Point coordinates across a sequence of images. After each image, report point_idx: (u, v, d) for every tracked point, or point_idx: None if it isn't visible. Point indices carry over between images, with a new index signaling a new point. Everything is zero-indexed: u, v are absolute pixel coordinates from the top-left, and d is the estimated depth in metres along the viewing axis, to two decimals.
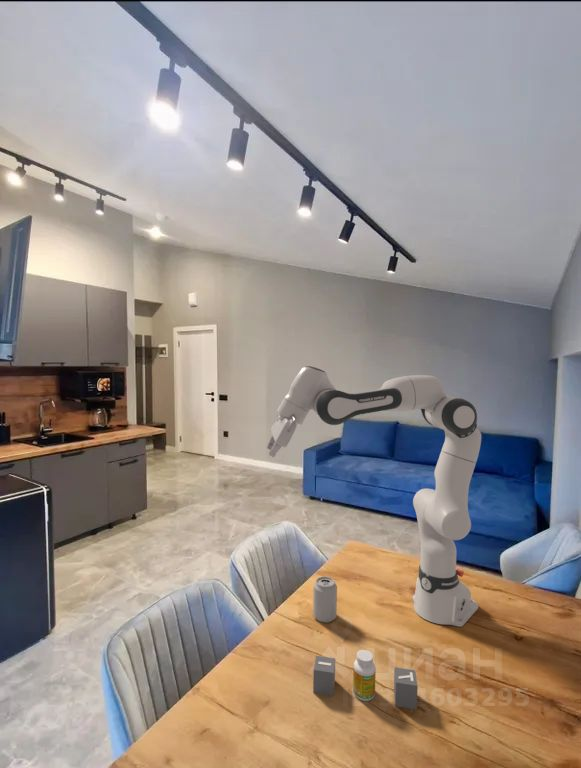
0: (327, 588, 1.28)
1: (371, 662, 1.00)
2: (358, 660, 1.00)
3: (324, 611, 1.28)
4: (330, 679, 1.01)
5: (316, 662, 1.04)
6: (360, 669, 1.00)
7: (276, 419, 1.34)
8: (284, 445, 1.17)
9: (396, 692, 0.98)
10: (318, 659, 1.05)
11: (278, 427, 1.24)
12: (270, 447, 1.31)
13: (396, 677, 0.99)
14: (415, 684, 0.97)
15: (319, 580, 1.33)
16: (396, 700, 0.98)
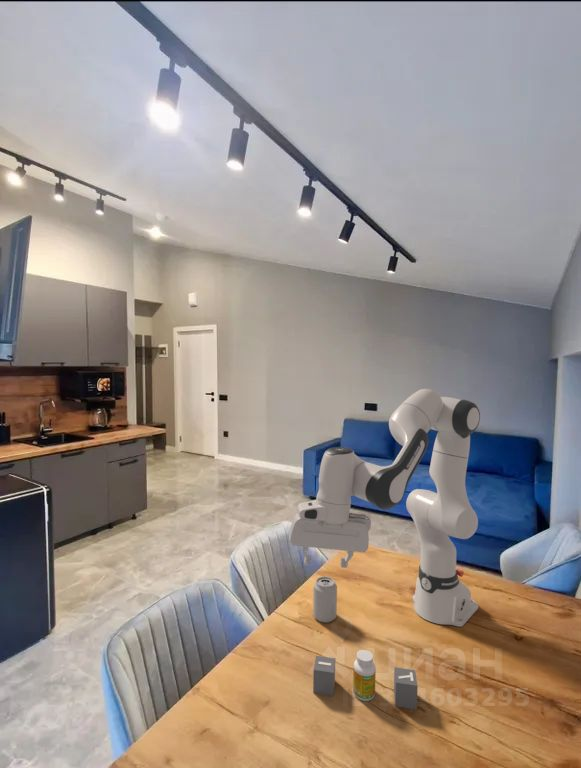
0: (327, 588, 1.28)
1: (371, 662, 1.00)
2: (358, 660, 1.00)
3: (324, 611, 1.28)
4: (330, 679, 1.01)
5: (316, 662, 1.04)
6: (360, 669, 1.00)
7: (299, 528, 1.02)
8: None
9: (396, 692, 0.98)
10: (318, 659, 1.05)
11: (339, 536, 1.03)
12: None
13: (396, 677, 0.99)
14: (415, 684, 0.97)
15: (319, 580, 1.33)
16: (396, 700, 0.98)
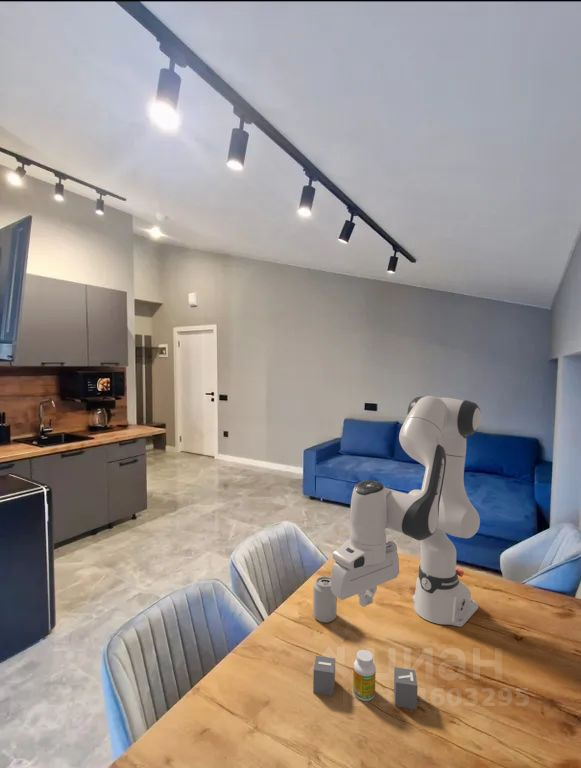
0: (327, 588, 1.28)
1: (371, 662, 1.00)
2: (358, 660, 1.00)
3: (324, 611, 1.28)
4: (330, 679, 1.01)
5: (316, 662, 1.04)
6: (360, 669, 1.00)
7: (348, 580, 0.94)
8: None
9: (396, 692, 0.98)
10: (318, 659, 1.05)
11: (378, 572, 1.00)
12: None
13: (396, 677, 0.99)
14: (415, 684, 0.97)
15: (319, 580, 1.33)
16: (396, 700, 0.98)
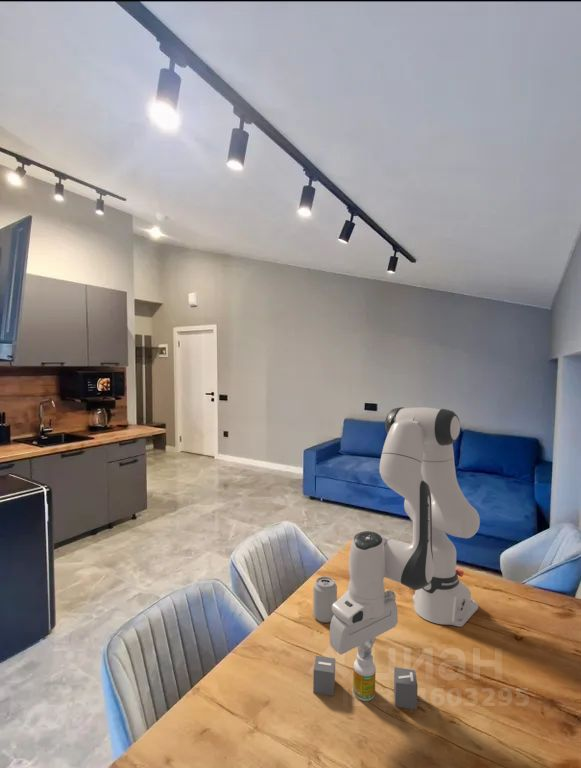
0: (327, 588, 1.28)
1: (371, 662, 1.00)
2: (358, 660, 1.00)
3: (324, 611, 1.28)
4: (330, 679, 1.01)
5: (316, 662, 1.04)
6: (360, 669, 1.00)
7: (346, 635, 0.95)
8: None
9: (396, 692, 0.98)
10: (318, 659, 1.05)
11: (377, 623, 1.01)
12: None
13: (396, 677, 0.99)
14: (415, 684, 0.97)
15: (319, 580, 1.33)
16: (396, 700, 0.98)
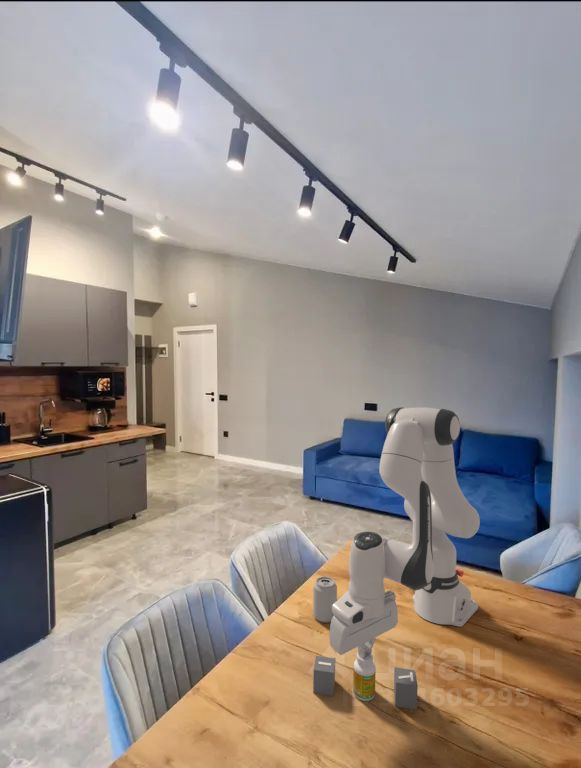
0: (327, 588, 1.28)
1: (371, 662, 1.00)
2: (358, 660, 1.00)
3: (324, 611, 1.28)
4: (330, 679, 1.01)
5: (316, 662, 1.04)
6: (360, 669, 0.99)
7: (346, 635, 0.95)
8: None
9: (396, 692, 0.98)
10: (318, 659, 1.05)
11: (377, 623, 1.01)
12: None
13: (396, 677, 0.99)
14: (415, 684, 0.97)
15: (319, 580, 1.33)
16: (396, 700, 0.98)
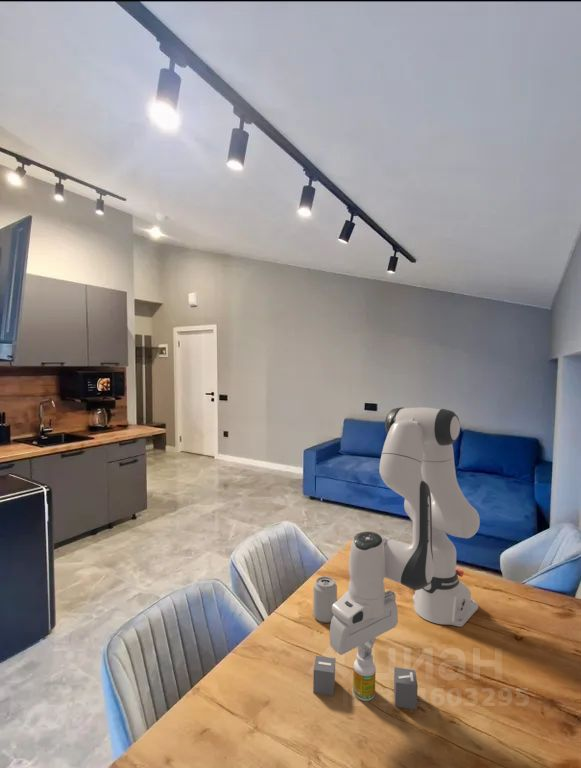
0: (327, 588, 1.28)
1: (371, 662, 1.00)
2: (358, 660, 1.00)
3: (324, 611, 1.28)
4: (330, 679, 1.01)
5: (316, 662, 1.04)
6: (360, 669, 1.00)
7: (346, 635, 0.95)
8: None
9: (396, 692, 0.98)
10: (318, 659, 1.05)
11: (377, 623, 1.01)
12: None
13: (396, 677, 0.99)
14: (415, 684, 0.97)
15: (319, 580, 1.33)
16: (396, 700, 0.98)
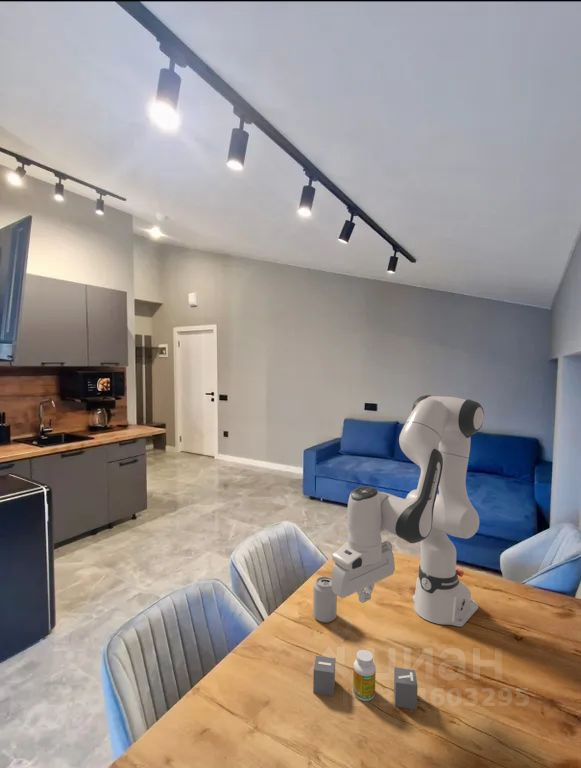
0: (327, 588, 1.28)
1: (371, 662, 1.00)
2: (358, 660, 1.00)
3: (324, 611, 1.28)
4: (330, 679, 1.01)
5: (316, 662, 1.04)
6: (360, 669, 1.00)
7: (347, 580, 1.01)
8: None
9: (396, 692, 0.98)
10: (318, 659, 1.05)
11: (375, 570, 1.08)
12: None
13: (396, 677, 0.99)
14: (415, 684, 0.97)
15: (319, 580, 1.33)
16: (396, 700, 0.98)
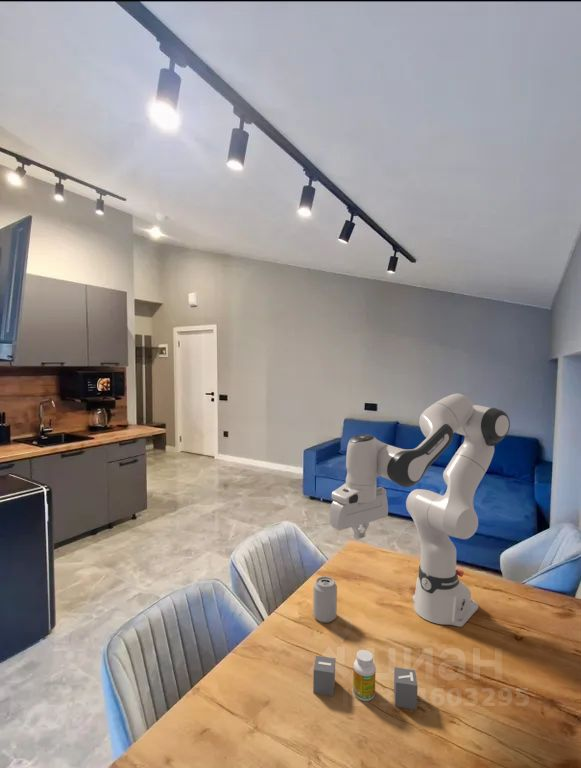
0: (327, 588, 1.28)
1: (371, 662, 1.00)
2: (358, 660, 1.00)
3: (324, 611, 1.28)
4: (330, 679, 1.01)
5: (316, 662, 1.04)
6: (360, 669, 1.00)
7: (344, 514, 1.13)
8: None
9: (396, 692, 0.98)
10: (318, 659, 1.05)
11: (370, 510, 1.19)
12: None
13: (396, 677, 0.99)
14: (415, 684, 0.97)
15: (319, 580, 1.33)
16: (396, 700, 0.98)
